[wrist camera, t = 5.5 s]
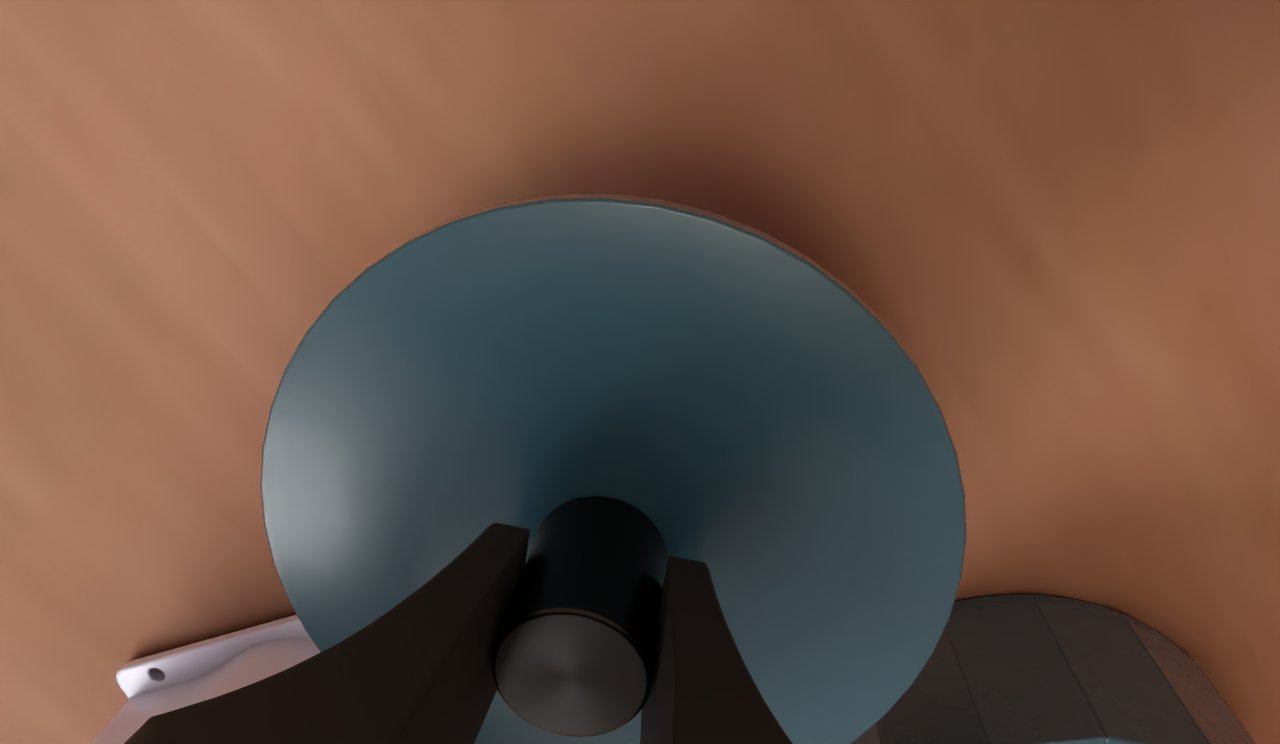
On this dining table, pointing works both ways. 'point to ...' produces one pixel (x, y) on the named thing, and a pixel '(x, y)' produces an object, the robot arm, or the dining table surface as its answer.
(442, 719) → the robot arm
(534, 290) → the tin lid
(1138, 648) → the tin
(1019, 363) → the dining table surface
